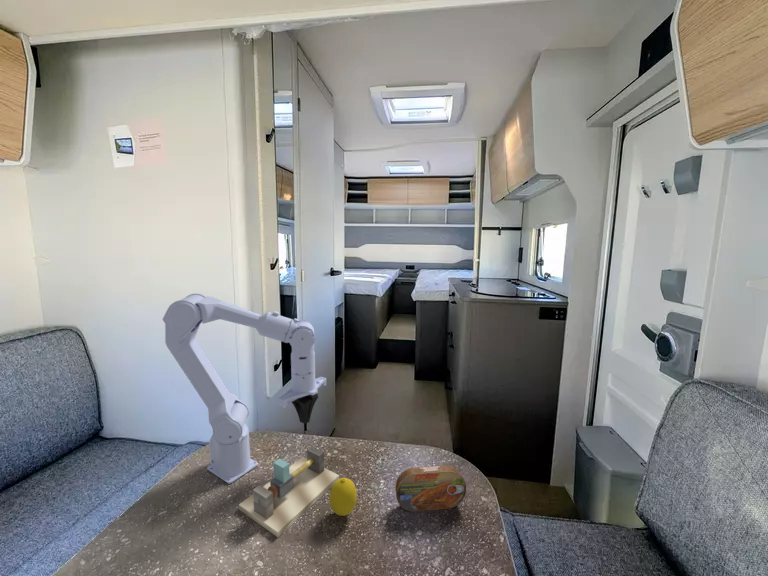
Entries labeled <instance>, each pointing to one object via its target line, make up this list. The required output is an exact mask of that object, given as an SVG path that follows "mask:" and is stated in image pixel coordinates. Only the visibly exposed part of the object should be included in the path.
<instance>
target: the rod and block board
mask: <svg viewBox="0 0 768 576" xmlns="http://www.w3.org/2000/svg"><path fill="white" fill-rule="evenodd" d="M289 473H290V474H291V475H293V483H294V488H293V489H292V490H291V491H290V492H288V493H287V494H286V495H285V496H284V497H282V498H281V499H279V498H278V497H276V496H278V494H279V491H278V487H276V486H275V485H270V481H268V482H267V483H266V484H265V485H263V486H262V485H260V484H259V485H257V486H256V487H255V488H253V489H252V494H251V495H250V496H248V497H247V498H246V499H245V500H243V501H242V502H241V503H239V504H238V509H239V511H240V512H241V513H242V514H244V515H246V517H248V518H250V519H251V520H253V521H254V522H256V523H257V524H258V525H259V526H260V527H262V528H264V529H265V530H267V531H268V532H269V533H270V534H272V535H274V536H275V537H276V538H280V536H281V535H283V534H284V533H285V532H286V531H287V530H288V529H289V528H290V527H291V526H292V525H293V524H295V522H296V521H298V520H299V518H301V516H302V515H304V514H305V513H306V512H307V511H308V510H309V509H310V508H311V507H312V506H313V505H314V504H315V503H317V502H318V501H319V500H320V498H322V497H324V495H325V494H326V493H327V492H328V491H329V490H331V488H332V486H333V484H334V483H335V482H336V481H337V480H338V479H340V475H339V474H337V473H335V472H334V471H331V470H330V469H327V468H325V452H324V451H322V450H320V449H318V448H315V447H313V446H311V447H309V448H308V449H307V450H306V458H305V457H304V456H302V457H301V458H299V459H298V460H297V461H295V462H294V463H293V464H291V465H289Z"/></svg>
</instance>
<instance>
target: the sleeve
mask: <svg viewBox="0 0 768 576" xmlns="http://www.w3.org/2000/svg"><path fill="white" fill-rule="evenodd" d="M289 467H290V463H289V462H288V461H285V460H283V459H281V458H278V459H277V460H276V461H273V478H271V479H270V481H269V482H270V485H275V486H276V487H278V491H279V494H278V496H276V497H278V498H279V499H281V498H282V497H284V496H285V495H286V494H287V493H288V492H290V491H291V490H292V489H293V488H294V483H293V475H291V474H290V473H289Z"/></svg>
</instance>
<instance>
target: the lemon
mask: <svg viewBox="0 0 768 576" xmlns="http://www.w3.org/2000/svg"><path fill="white" fill-rule="evenodd" d="M329 492H330V493H329V503H330V504H329V505H330V507H331V509H332V511H333V513H334V514H336V515H338V516H342V517H343V516H348V515H350V514H351V513H352V512H353V510H354V509H355V507H356V504H357V501H358V495H357V494H358V493H357V489H356V485H355V483H354V482H353V481H352V480H351V479H350V478H346V477H339V479H338V480H337V481H336V482H335V483H334V484H333V486H332V487H331V488H330V491H329Z"/></svg>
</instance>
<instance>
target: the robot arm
mask: <svg viewBox="0 0 768 576" xmlns="http://www.w3.org/2000/svg"><path fill="white" fill-rule="evenodd" d="M218 320H223V321H226V322H230V323H234V324H238V325H242V326H245V327H250V328H254V329H255V330H256V331H257V333H258V334H259V336H263V337H264V338H265V337H266V338H269V339H271V340H275V341H278V342H283V343H285V344H288V343H289V345H290V346H291V353H290V366H291V368H290V371H291V372H290V373H291V387H290V388H289V389H287V391H286V392H285V393H284V394H282V395H281V396H279V397H278V398H277V406H278V407H281V408H283V409H284V408H287V407H288V405H289V404H290V403H291V404H292V405H293V407H294V409H295V410H296V413H297V416H298V419H299V422H300V423H302V424H304V425H307V424H308V423H310V421H311V415H312V412H313V409H314V406H315V404H316V402H317V400H318V399H319V394H318V393H319V391H318V390H319V388H320V387H325V386H327V378H326V377H323V376H319V377H317V378H316V354H315V353H316V352H315V342H316V337H315V328H314V326H313V325H312V323H310V322H309V321H307V320H306V319H300V320H299V318H295V317H294V319H293V318H290V317H286V316H283V315H280V312H279V311H276V310H273V312H270V311H267V312H265V313H263V314H259V313H256V312H254V311H251V310H249V309H246V308H244V307H241V306H238V305H235V304H232V303H230V302H226V301H224V300H220V299H218V298H217V297H214V296H210V295H207V296H206V295H204V294H201V293H191V294H189V295H187V296H185V297H184V298H182V299H180V300H176V301H174V302H172V303H171V304H170V305H169V306H168V308H167V310H166V311H165V313H164V315H163V318H162V321H163V323H164V328H165V331H164V333H165V334H164V335H165V339H164V340H165V342H164V343H165V346H166V347H167V349H168V350H169V352H170V354H171V355H172V356H173V358H174V359H175V361H176V362H177V364H178V366H179V367H180V368H181V370H182V372H183V373H184V374H185V376H186V378H187V379H188V380H189V381H190V384H191V386H192V387H193V388H194V390H195V391H196V392H197V394H198V396H199V397H200V398H201V400H202V401H203V403H204V405H205V406H206V408H207V410H208V412H207V413H208V422H209V425H210V426H211V428H212V436H211V437H210V438H209V442H208V449H209V462H210V463H209V465H207V467H206V470H207V471H209V472H210V473H212V474H213V475H215V476H217V477H218V478H220V479H221V480H222V481H224V482H226V484H228V485H229V484H232V483H234V482H235V481H237V480H238V479H239V478H241V477H242V476H244V475H245V474H247V473H248V472H250V471H252V470H253V469H255V468H256V467H257V466H259V462H257V461H255V460H254V459H252V458H251V450H250V446H251V445H250V429H249V427H248V425H247V423H246V421H247V419H248V417H249V415H250V409H249V406H248V405H247V404H246V403H245V401H244V402H243V401H242V400H240V399H239V397H237V394H234V393H231V392H229V390H228V389H227V387H226V386H225V384H224V382H223V381H222V379H221V377H220V376H219V374H218V373H217V371H216V370H215V368H214V366H213V365H212V363H211V362H210V361H209V358H207V355H206V354H205V353H204V351H203V349H202V347H201V346H200V344H199V343H198V341H197V340H196V336H197V333H198V331H199V329H200V327H201V324H204V325H205V324H207V323H211V322H215V321H218Z"/></svg>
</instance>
